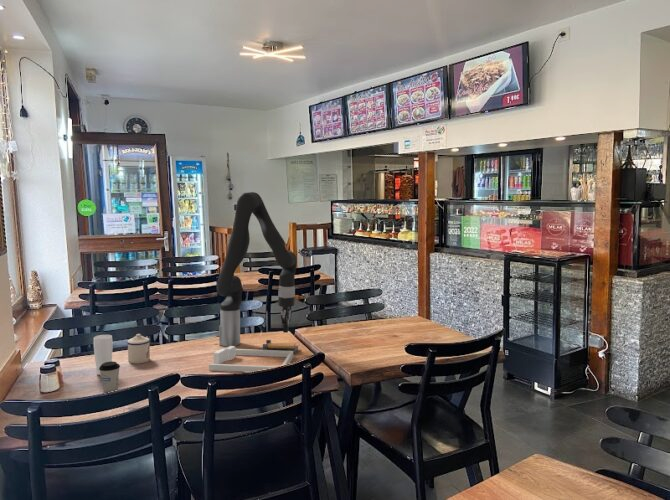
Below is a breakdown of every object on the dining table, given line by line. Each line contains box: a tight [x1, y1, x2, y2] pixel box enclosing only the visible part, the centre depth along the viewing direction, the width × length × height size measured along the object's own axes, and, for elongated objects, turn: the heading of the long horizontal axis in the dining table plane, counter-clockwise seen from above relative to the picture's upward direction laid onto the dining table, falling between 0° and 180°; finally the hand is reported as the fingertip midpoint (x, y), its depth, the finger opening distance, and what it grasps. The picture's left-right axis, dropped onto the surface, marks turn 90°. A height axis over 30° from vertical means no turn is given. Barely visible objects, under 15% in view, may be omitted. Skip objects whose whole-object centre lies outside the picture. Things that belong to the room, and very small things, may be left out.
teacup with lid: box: [127, 333, 151, 365], centre depth 209 cm, size 12×9×12 cm
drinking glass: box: [93, 334, 114, 376], centre depth 192 cm, size 7×7×15 cm
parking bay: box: [208, 348, 294, 372], centre depth 207 cm, size 31×22×2 cm
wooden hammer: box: [267, 342, 297, 348], centre depth 224 cm, size 14×5×1 cm, turn 84°
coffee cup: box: [99, 360, 121, 394], centre depth 175 cm, size 7×7×10 cm
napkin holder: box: [213, 346, 236, 364], centre depth 210 cm, size 15×11×6 cm
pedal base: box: [260, 339, 299, 356], centre depth 224 cm, size 16×8×4 cm, turn 84°
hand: (285, 332), depth 224 cm, fingers closed
